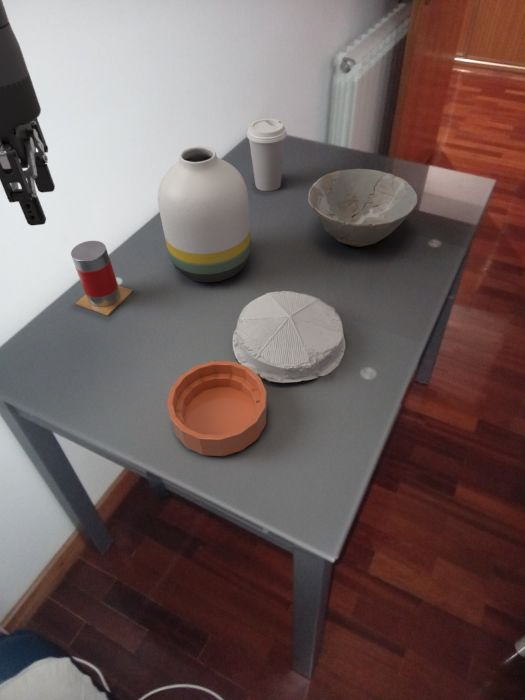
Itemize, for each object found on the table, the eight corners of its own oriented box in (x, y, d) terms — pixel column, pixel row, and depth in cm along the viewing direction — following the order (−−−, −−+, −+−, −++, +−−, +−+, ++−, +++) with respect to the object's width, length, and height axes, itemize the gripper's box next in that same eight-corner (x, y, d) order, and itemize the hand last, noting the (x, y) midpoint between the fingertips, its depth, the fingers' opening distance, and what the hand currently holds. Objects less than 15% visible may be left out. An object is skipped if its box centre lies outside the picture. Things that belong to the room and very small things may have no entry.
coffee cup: (288, 193, 122) (289, 132, 112) (250, 195, 122) (247, 135, 111) (284, 174, 129) (284, 116, 118) (248, 177, 129) (245, 118, 118)
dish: (238, 473, 70) (236, 454, 66) (154, 435, 75) (148, 416, 71) (282, 399, 79) (282, 379, 75) (204, 369, 83) (200, 349, 80)
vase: (264, 250, 106) (260, 140, 89) (231, 299, 96) (220, 184, 78) (195, 235, 111) (178, 128, 93) (156, 280, 100) (130, 168, 83)
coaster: (108, 316, 93) (107, 314, 93) (75, 304, 96) (75, 303, 96) (133, 291, 98) (133, 290, 98) (102, 281, 101) (101, 279, 100)
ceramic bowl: (411, 213, 115) (420, 173, 107) (403, 273, 100) (412, 231, 92) (318, 202, 119) (320, 162, 112) (296, 257, 104) (297, 216, 97)
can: (106, 311, 94) (90, 264, 86) (81, 301, 96) (63, 255, 88) (127, 291, 98) (113, 245, 90) (102, 283, 100) (86, 237, 92)
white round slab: (273, 292, 97) (272, 264, 92) (364, 331, 88) (369, 303, 83) (209, 355, 86) (204, 327, 81) (306, 406, 78) (307, 378, 73)
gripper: (-28, 57, 59) (23, 184, 70) (-63, 100, 49) (3, 239, 61) (37, 52, 59) (76, 179, 71) (15, 94, 50) (65, 232, 61)
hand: (42, 206), depth 66 cm, fingers open, 8 cm apart
